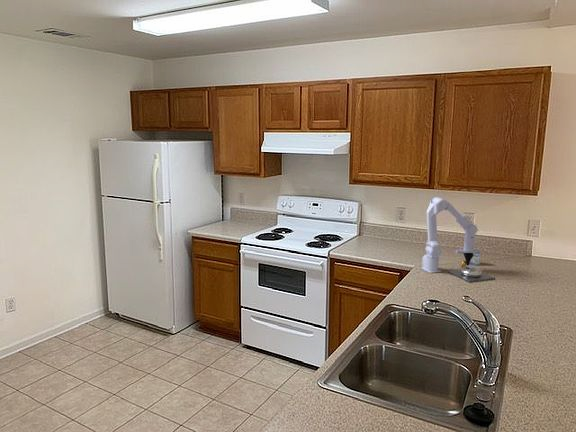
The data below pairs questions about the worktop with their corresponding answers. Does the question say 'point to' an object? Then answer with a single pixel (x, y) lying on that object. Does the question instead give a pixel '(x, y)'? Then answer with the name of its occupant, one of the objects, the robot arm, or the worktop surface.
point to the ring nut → (470, 270)
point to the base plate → (471, 279)
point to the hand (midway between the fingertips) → (467, 265)
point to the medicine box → (475, 259)
